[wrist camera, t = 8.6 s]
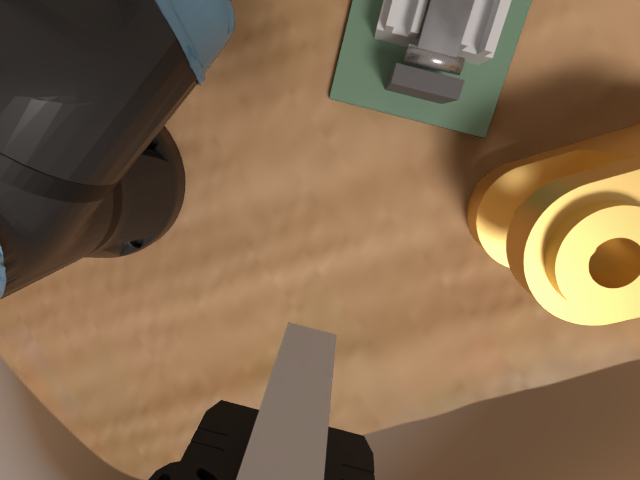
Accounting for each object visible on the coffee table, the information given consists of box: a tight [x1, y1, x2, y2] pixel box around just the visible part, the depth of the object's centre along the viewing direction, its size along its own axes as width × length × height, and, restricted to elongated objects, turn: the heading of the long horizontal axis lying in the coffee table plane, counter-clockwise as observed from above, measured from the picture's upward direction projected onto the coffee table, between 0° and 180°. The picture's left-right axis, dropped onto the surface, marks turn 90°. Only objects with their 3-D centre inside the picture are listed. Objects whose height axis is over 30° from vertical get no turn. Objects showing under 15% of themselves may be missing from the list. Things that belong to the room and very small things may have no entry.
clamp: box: [467, 124, 640, 325], centre depth 33 cm, size 20×9×16 cm, turn 107°
